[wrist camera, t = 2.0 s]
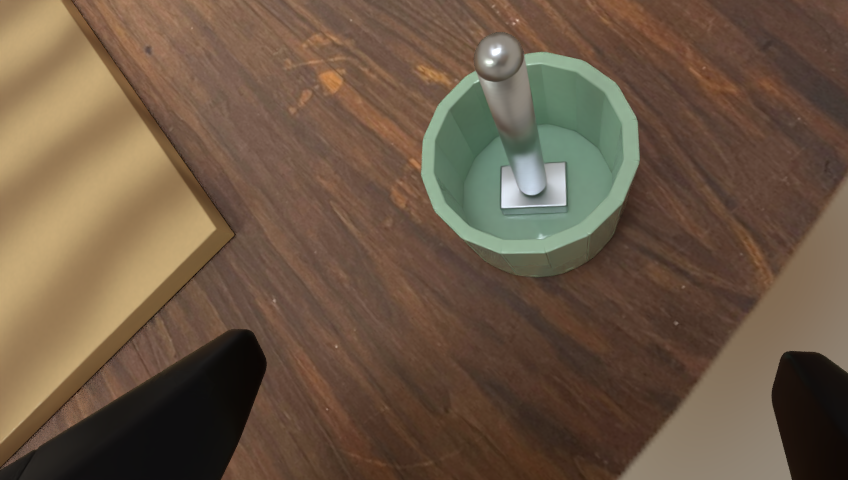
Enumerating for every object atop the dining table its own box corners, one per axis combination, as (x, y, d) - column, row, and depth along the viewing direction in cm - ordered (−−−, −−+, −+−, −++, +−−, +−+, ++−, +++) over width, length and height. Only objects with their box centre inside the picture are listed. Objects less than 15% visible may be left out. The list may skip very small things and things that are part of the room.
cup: (628, 277, 20) (645, 251, 15) (453, 277, 22) (416, 254, 17) (620, 113, 21) (633, 38, 16) (458, 128, 24) (425, 66, 19)
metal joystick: (567, 168, 21) (557, -5, 11) (568, 212, 21) (558, 76, 10) (503, 172, 22) (437, 15, 12) (502, 215, 21) (434, 90, 11)
